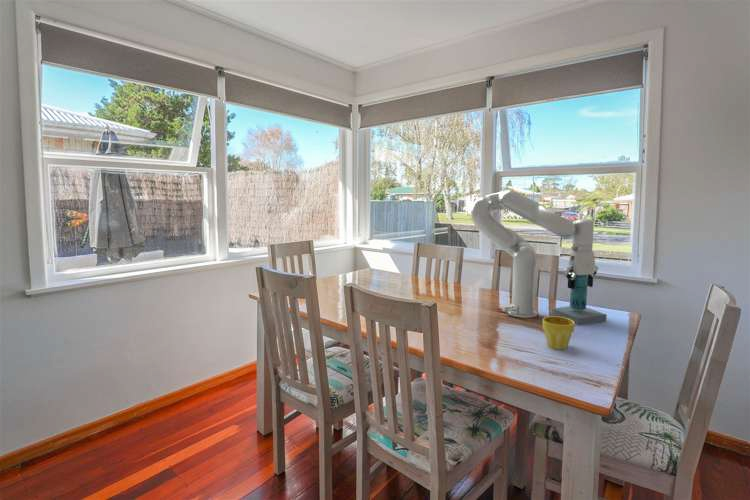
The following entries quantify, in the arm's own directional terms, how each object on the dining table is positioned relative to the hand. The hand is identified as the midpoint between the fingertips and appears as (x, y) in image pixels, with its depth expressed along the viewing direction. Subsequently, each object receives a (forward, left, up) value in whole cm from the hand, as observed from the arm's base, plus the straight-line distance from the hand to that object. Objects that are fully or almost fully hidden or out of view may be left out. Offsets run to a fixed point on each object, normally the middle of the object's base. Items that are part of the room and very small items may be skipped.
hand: (580, 287), depth 173 cm
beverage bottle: (0, 0, -11) cm, 11 cm away
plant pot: (-31, -23, -14) cm, 41 cm away
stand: (0, 0, -14) cm, 14 cm away
